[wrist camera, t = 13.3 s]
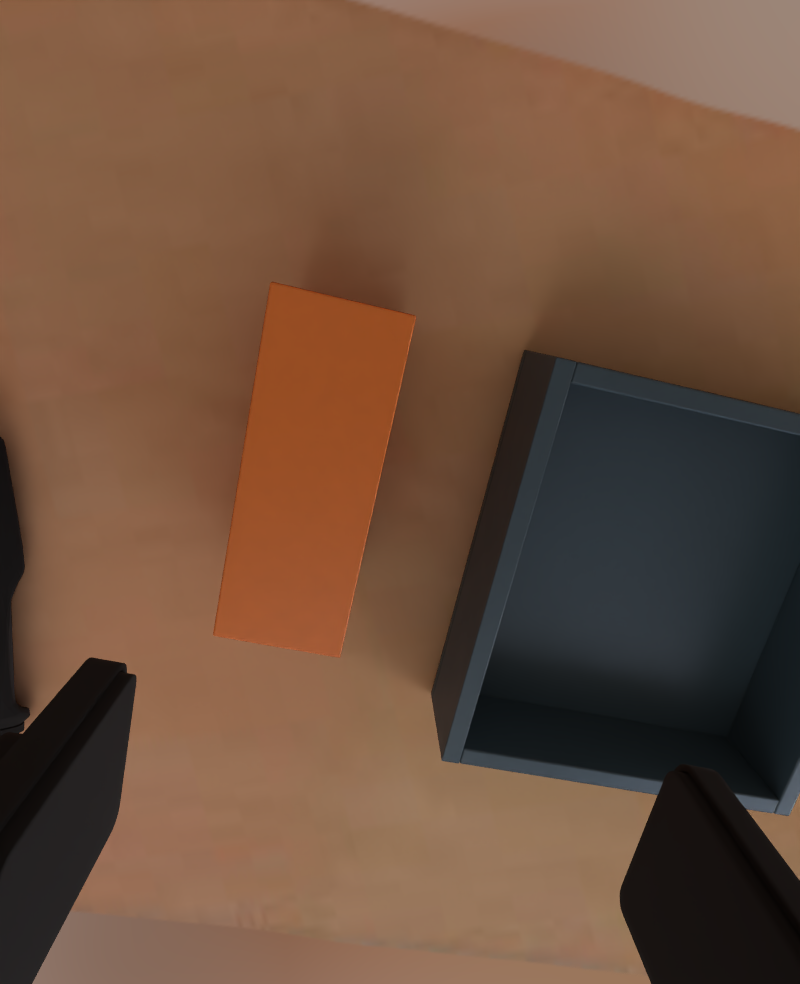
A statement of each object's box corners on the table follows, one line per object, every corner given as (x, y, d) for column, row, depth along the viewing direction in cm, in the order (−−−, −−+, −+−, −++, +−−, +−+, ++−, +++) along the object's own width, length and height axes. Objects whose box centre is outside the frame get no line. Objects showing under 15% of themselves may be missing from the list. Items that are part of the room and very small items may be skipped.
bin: (863, 429, 29) (961, 451, 24) (729, 745, 34) (789, 816, 29) (523, 349, 27) (556, 356, 23) (430, 694, 32) (441, 761, 27)
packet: (403, 315, 27) (416, 315, 19) (347, 570, 30) (339, 658, 22) (299, 291, 26) (269, 281, 19) (253, 552, 29) (212, 636, 22)
